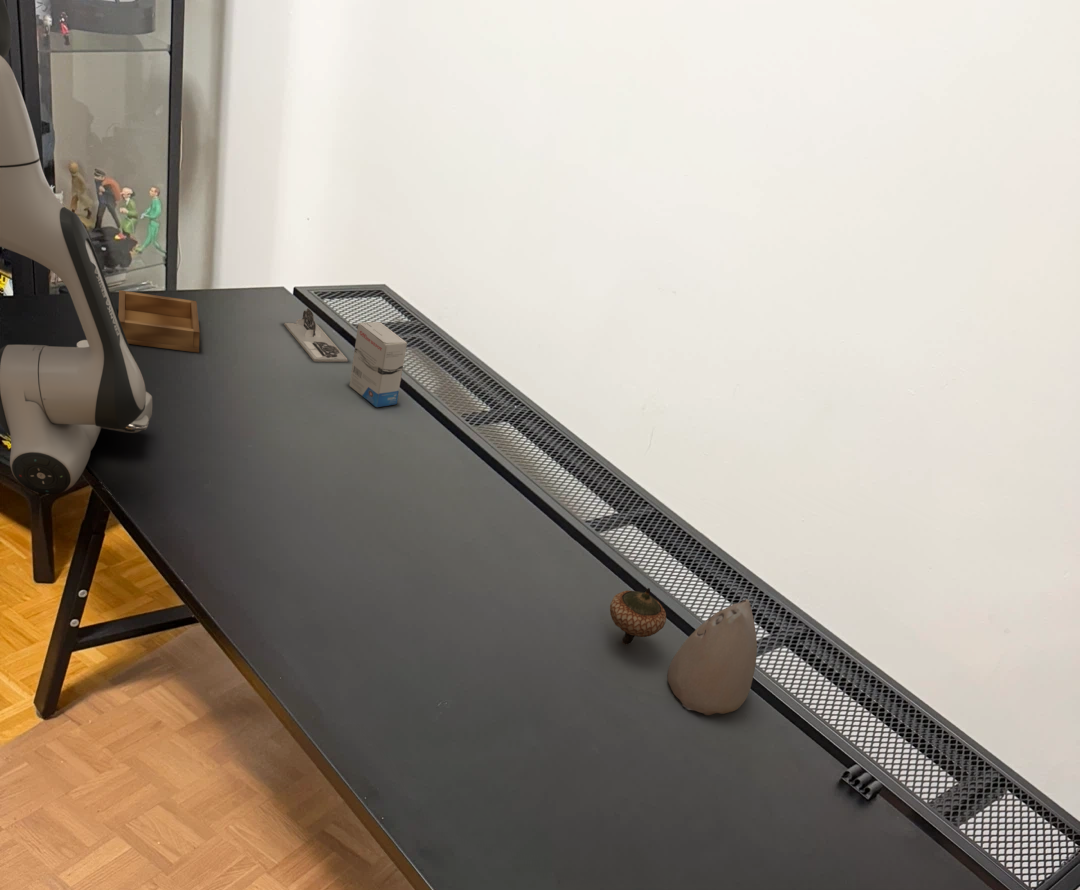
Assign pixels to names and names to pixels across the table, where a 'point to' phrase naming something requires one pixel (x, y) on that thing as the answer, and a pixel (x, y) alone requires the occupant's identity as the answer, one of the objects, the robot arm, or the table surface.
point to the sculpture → (716, 662)
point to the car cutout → (315, 340)
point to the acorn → (637, 614)
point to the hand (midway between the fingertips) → (87, 375)
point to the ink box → (377, 364)
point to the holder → (159, 321)
